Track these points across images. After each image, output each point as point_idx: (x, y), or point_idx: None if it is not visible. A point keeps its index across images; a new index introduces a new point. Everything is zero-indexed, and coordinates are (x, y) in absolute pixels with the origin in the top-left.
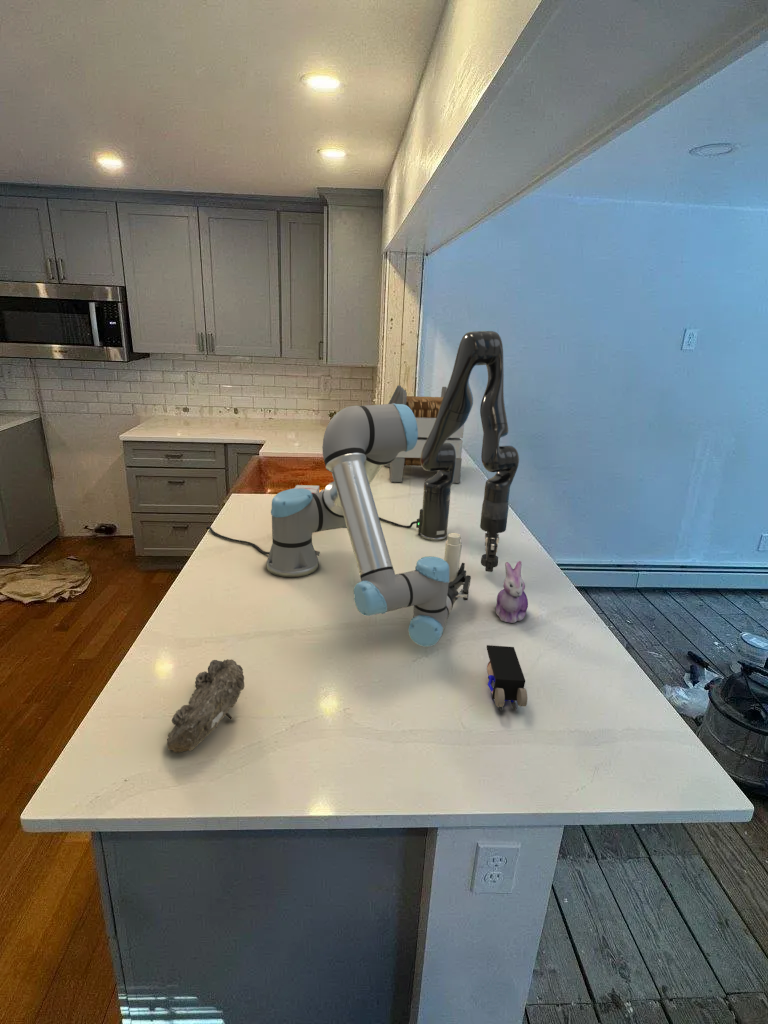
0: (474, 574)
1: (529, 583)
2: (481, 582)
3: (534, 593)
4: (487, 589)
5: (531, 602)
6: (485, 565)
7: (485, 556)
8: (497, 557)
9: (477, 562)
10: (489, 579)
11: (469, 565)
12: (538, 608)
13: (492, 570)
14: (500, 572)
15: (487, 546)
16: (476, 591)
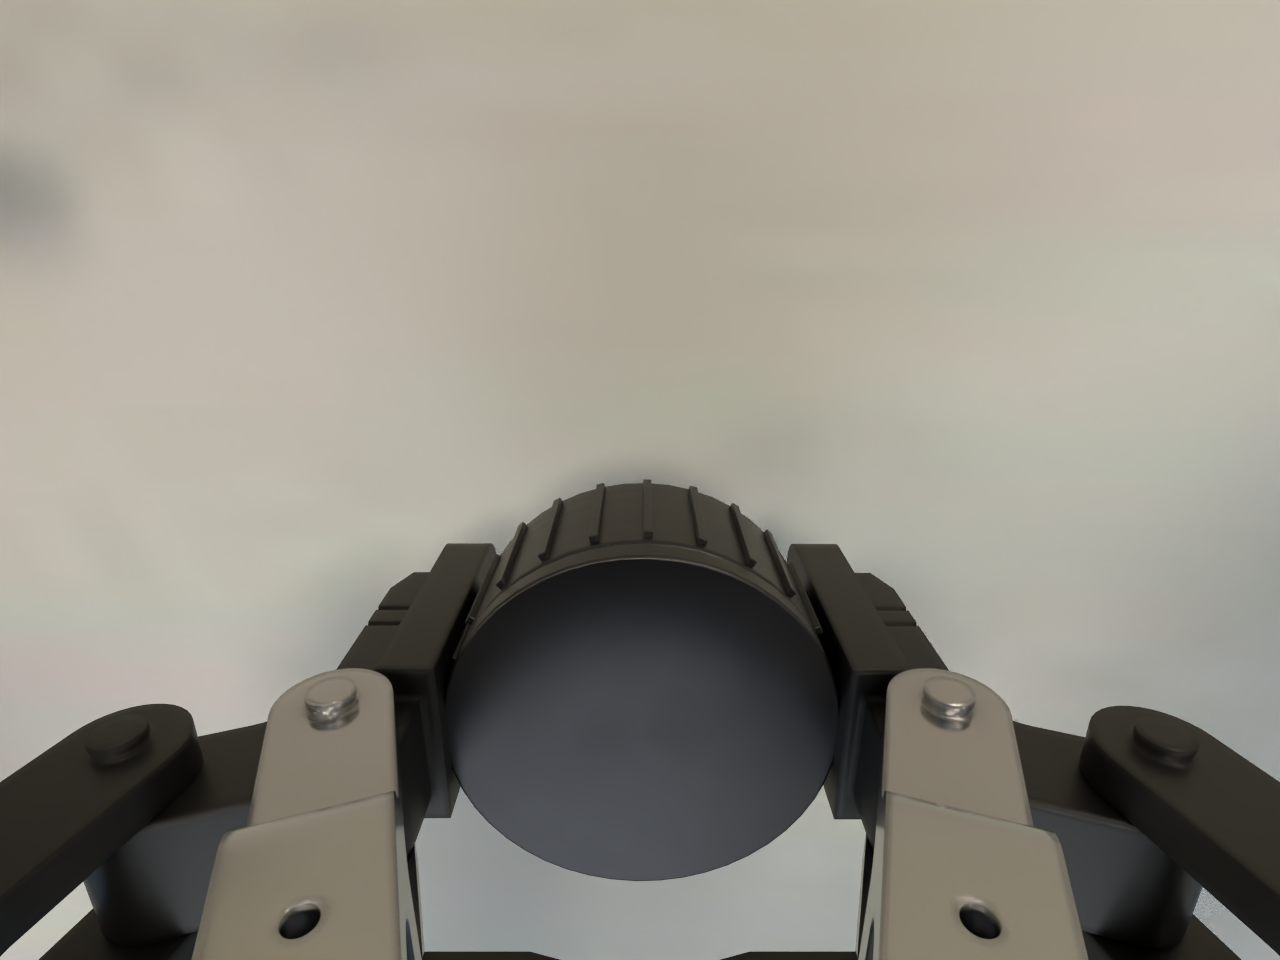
0: (664, 329)
1: (569, 935)
2: (412, 431)
3: None
4: (223, 506)
5: None
6: (493, 573)
7: (645, 643)
8: (654, 868)
9: (1136, 382)
10: None
11: (1009, 243)
12: (30, 955)
13: None
14: None
15: (877, 844)
16: (86, 354)
